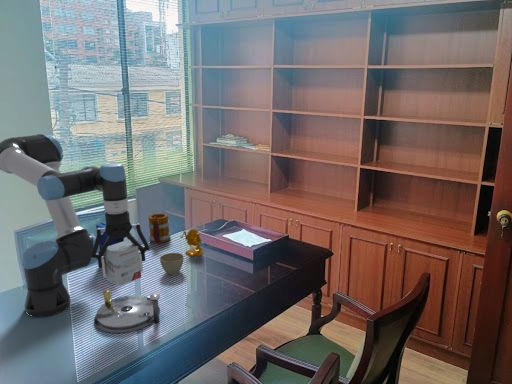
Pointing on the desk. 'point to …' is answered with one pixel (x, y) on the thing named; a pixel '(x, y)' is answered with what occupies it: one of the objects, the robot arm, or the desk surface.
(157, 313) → the turntable base
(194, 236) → the figurine
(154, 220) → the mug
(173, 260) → the flower pot
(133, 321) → the turntable
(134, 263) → the ink box
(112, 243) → the book
